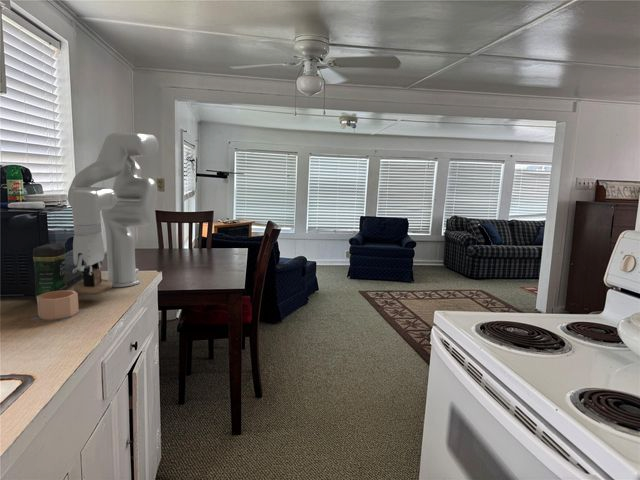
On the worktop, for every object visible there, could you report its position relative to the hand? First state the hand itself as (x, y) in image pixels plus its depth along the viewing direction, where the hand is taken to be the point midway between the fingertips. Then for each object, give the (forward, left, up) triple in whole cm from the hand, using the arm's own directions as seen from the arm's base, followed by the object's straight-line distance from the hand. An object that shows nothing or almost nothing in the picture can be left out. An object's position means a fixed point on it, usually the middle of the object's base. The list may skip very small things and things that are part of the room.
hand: (92, 283), depth 130 cm
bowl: (+15, -2, -6) cm, 16 cm away
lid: (0, 0, -1) cm, 1 cm away
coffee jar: (0, -14, -6) cm, 15 cm away
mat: (+15, -2, -6) cm, 16 cm away
